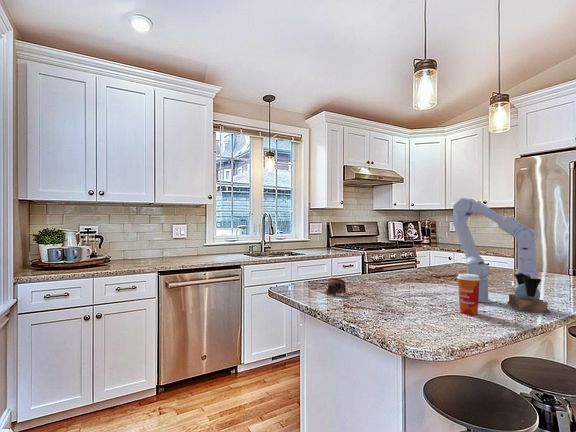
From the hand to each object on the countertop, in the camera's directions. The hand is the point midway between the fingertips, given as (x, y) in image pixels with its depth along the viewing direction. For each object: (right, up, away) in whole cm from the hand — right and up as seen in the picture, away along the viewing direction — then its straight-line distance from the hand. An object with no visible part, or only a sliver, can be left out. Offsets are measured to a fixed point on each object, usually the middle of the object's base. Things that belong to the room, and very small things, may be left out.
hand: (527, 294), depth 129 cm
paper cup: (-26, -6, -7) cm, 28 cm away
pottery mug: (-70, -6, +25) cm, 75 cm away
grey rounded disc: (0, -4, 0) cm, 4 cm away
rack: (0, -5, 0) cm, 5 cm away
